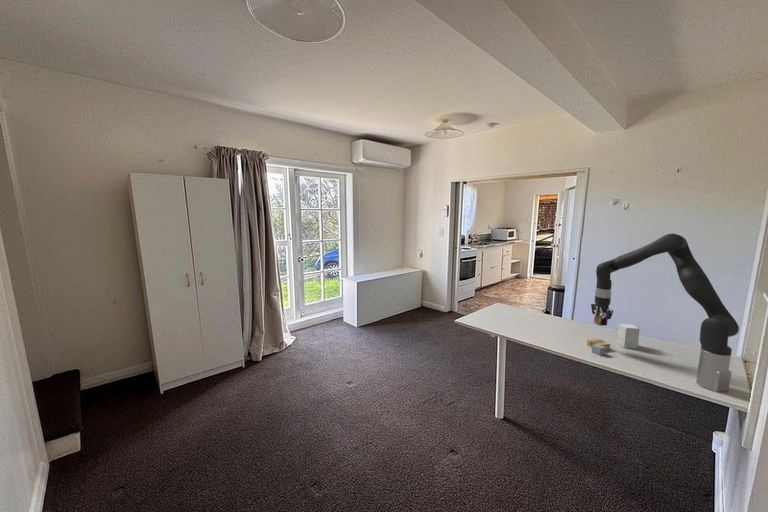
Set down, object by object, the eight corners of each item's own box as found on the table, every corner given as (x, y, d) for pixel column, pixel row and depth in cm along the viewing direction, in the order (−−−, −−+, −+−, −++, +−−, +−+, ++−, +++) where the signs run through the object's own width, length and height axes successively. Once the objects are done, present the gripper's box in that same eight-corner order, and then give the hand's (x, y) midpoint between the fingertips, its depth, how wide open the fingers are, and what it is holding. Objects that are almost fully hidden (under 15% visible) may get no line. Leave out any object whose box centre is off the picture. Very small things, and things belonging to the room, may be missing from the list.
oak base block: (609, 350, 175) (610, 343, 174) (598, 351, 173) (599, 345, 173) (597, 344, 183) (598, 338, 182) (586, 345, 181) (587, 339, 181)
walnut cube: (607, 325, 174) (607, 318, 173) (599, 325, 174) (600, 318, 173) (600, 322, 178) (601, 315, 178) (593, 322, 178) (594, 315, 177)
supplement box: (638, 349, 175) (640, 328, 173) (623, 348, 177) (625, 327, 175) (630, 343, 182) (632, 324, 181) (616, 342, 184) (618, 323, 182)
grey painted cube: (604, 354, 169) (605, 347, 169) (599, 355, 168) (600, 348, 167) (596, 351, 173) (597, 344, 173) (591, 352, 172) (592, 345, 171)
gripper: (619, 298, 167) (616, 327, 169) (599, 292, 181) (596, 319, 183) (607, 299, 166) (604, 328, 169) (587, 292, 180) (585, 319, 183)
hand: (600, 323), depth 176 cm, fingers closed on walnut cube, 4 cm apart
